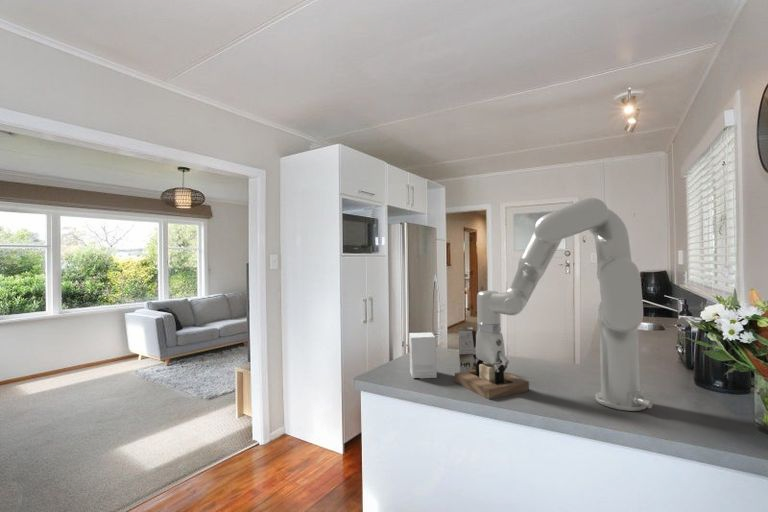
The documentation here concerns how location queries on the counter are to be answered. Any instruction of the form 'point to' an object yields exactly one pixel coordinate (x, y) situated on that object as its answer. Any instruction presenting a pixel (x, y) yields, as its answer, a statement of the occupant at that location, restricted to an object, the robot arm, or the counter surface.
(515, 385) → the pocket block
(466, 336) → the coffee box
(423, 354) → the supplement box
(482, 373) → the maple block
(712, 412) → the counter surface
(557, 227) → the robot arm
